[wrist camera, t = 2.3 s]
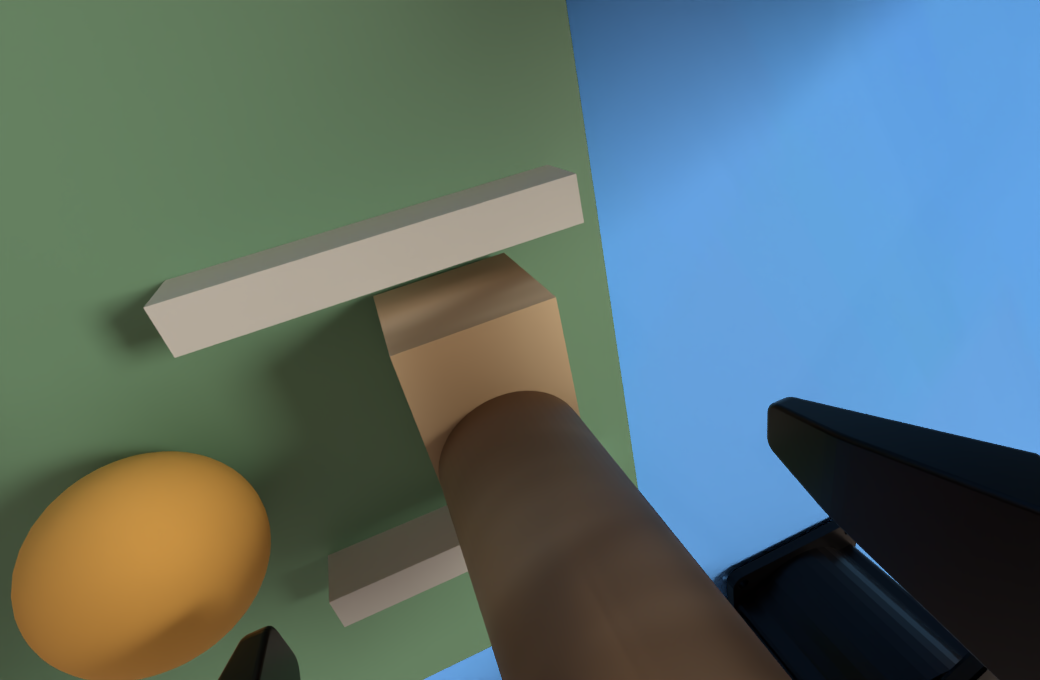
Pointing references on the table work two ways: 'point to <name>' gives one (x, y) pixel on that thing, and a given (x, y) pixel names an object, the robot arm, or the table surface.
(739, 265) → the table surface
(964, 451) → the robot arm
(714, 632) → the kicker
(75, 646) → the ball
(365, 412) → the pitch
